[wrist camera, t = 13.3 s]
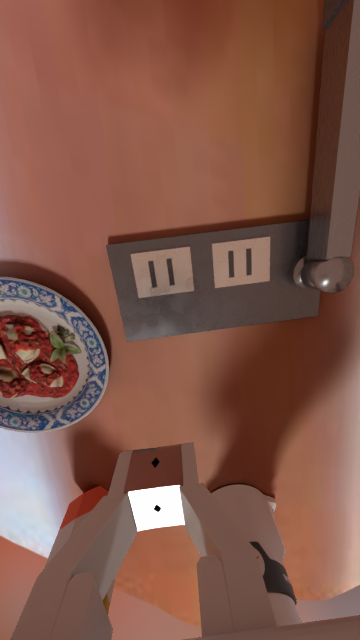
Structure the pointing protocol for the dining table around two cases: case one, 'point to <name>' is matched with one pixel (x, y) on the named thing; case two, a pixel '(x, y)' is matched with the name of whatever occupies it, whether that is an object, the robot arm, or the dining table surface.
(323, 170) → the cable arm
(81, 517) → the french fries container
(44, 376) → the ceramic plate
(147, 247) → the double power outlet
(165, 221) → the dining table surface
